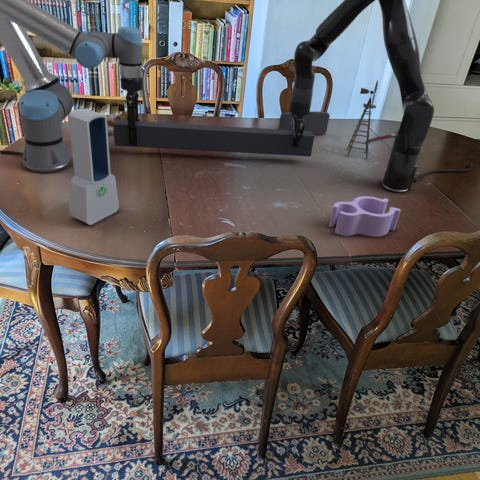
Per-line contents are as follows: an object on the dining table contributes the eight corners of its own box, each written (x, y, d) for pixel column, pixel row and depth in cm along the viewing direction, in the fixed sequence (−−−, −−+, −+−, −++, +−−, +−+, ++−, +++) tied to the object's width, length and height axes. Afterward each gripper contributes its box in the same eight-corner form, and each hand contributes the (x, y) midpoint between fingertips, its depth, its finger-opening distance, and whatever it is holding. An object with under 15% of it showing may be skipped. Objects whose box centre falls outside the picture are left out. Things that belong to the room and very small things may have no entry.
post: (114, 145, 169) (113, 124, 164) (116, 140, 173) (115, 119, 169) (310, 156, 177) (314, 136, 173) (308, 151, 182) (311, 131, 177)
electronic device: (87, 227, 129) (77, 121, 112) (68, 218, 132) (56, 113, 115) (120, 210, 138) (114, 110, 122) (101, 202, 141) (94, 103, 125)
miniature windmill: (367, 159, 190) (386, 84, 173) (346, 156, 191) (363, 81, 174) (366, 151, 197) (385, 79, 181) (346, 148, 198) (363, 76, 182)
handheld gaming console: (323, 132, 212) (327, 111, 207) (326, 134, 210) (330, 113, 205) (277, 134, 205) (280, 111, 200) (279, 136, 203) (282, 113, 198)
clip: (342, 240, 135) (347, 220, 131) (322, 219, 145) (326, 199, 141) (399, 234, 141) (406, 214, 137) (377, 213, 151) (382, 194, 147)
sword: (403, 131, 224) (404, 129, 223) (408, 133, 222) (409, 131, 221) (360, 143, 208) (360, 140, 207) (365, 145, 206) (366, 142, 205)
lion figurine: (130, 130, 193) (129, 109, 188) (132, 135, 188) (131, 113, 184) (93, 131, 188) (91, 109, 183) (94, 136, 184) (93, 114, 179)
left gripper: (140, 85, 151) (142, 152, 164) (145, 71, 167) (146, 133, 179) (116, 83, 151) (120, 151, 163) (123, 69, 166) (126, 132, 178)
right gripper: (315, 106, 162) (307, 152, 171) (307, 94, 174) (300, 138, 183) (294, 105, 161) (287, 151, 170) (287, 93, 173) (281, 137, 182)
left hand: (133, 141), depth 171 cm, fingers closed on post, 5 cm apart
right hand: (294, 144), depth 177 cm, fingers closed on post, 5 cm apart
